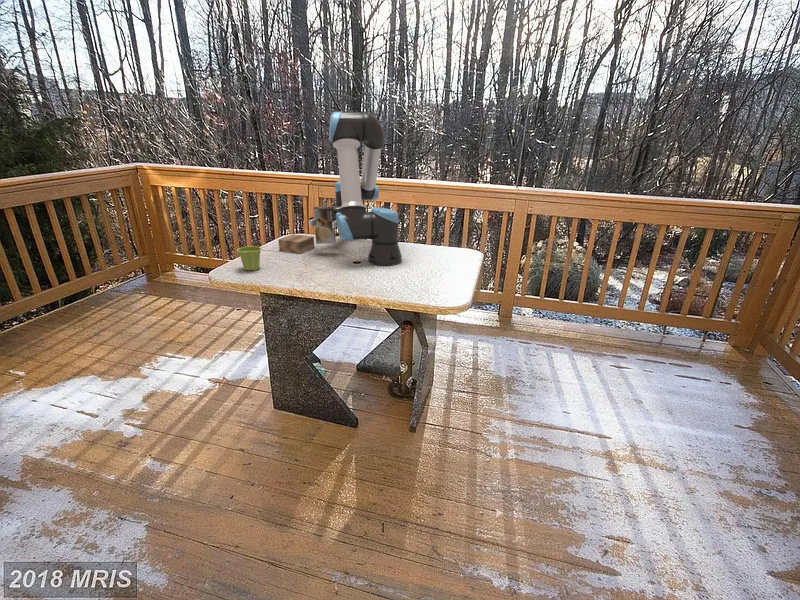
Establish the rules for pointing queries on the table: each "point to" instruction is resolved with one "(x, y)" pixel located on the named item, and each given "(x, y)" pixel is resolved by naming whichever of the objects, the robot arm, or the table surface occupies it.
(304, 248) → the walnut block
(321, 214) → the coffee box
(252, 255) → the plant pot
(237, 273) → the table surface
